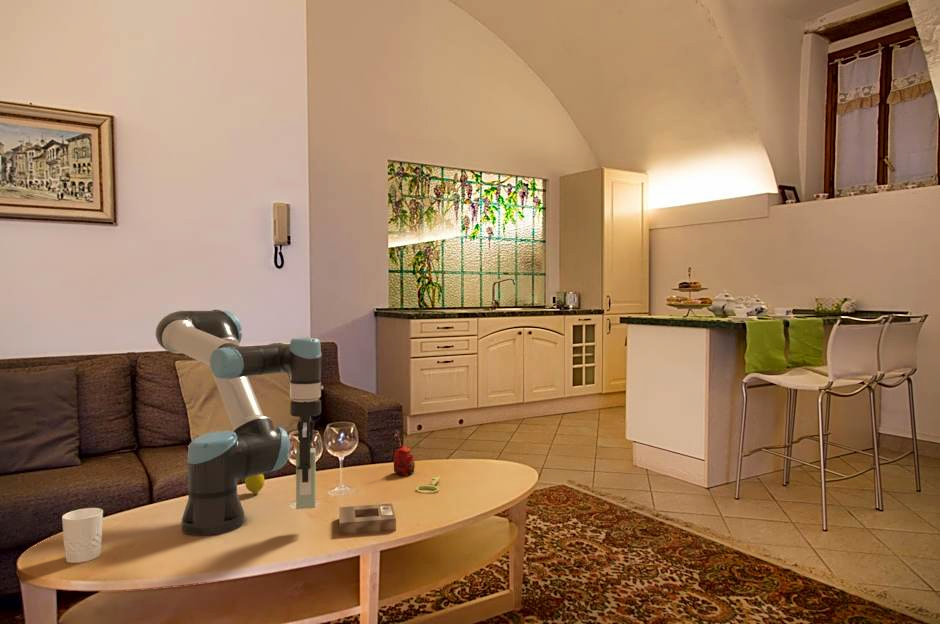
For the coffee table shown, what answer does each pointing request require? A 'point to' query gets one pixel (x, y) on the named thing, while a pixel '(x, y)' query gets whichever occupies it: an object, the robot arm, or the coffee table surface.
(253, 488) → the fruit
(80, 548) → the white cup
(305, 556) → the coffee table surface
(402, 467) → the red clay folk toy
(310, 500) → the sage peg
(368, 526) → the socket block
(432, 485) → the key
